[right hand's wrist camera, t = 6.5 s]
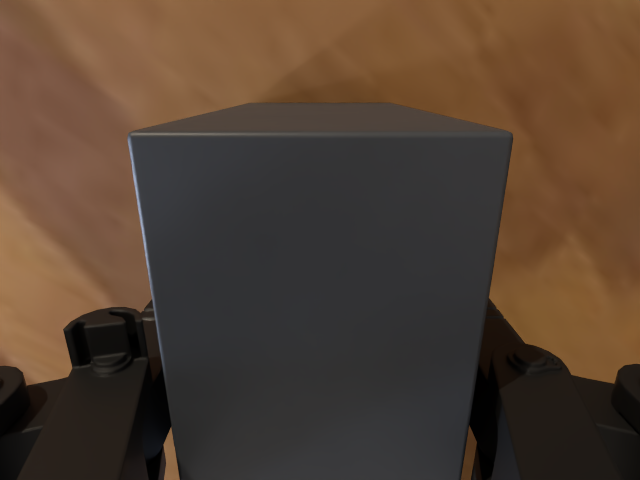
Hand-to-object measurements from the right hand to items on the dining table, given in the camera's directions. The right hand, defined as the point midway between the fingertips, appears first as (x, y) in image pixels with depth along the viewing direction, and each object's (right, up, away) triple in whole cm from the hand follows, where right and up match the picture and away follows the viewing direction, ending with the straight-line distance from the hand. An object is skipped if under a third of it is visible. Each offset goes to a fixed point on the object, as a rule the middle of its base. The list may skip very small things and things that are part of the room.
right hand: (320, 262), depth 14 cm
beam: (0, -19, +8) cm, 21 cm away
